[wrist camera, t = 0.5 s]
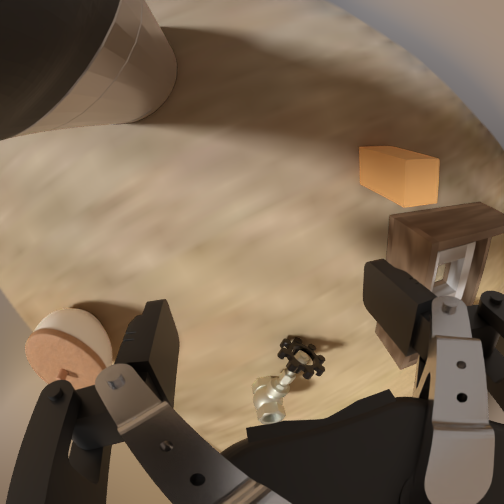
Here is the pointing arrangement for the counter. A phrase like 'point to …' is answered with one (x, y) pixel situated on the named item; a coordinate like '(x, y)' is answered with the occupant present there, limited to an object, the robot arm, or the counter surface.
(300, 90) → the counter surface
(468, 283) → the inlet box
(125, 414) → the robot arm
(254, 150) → the counter surface
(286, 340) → the valve
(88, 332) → the lidded jar
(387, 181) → the orange rectangular block
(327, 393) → the counter surface
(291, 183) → the counter surface
